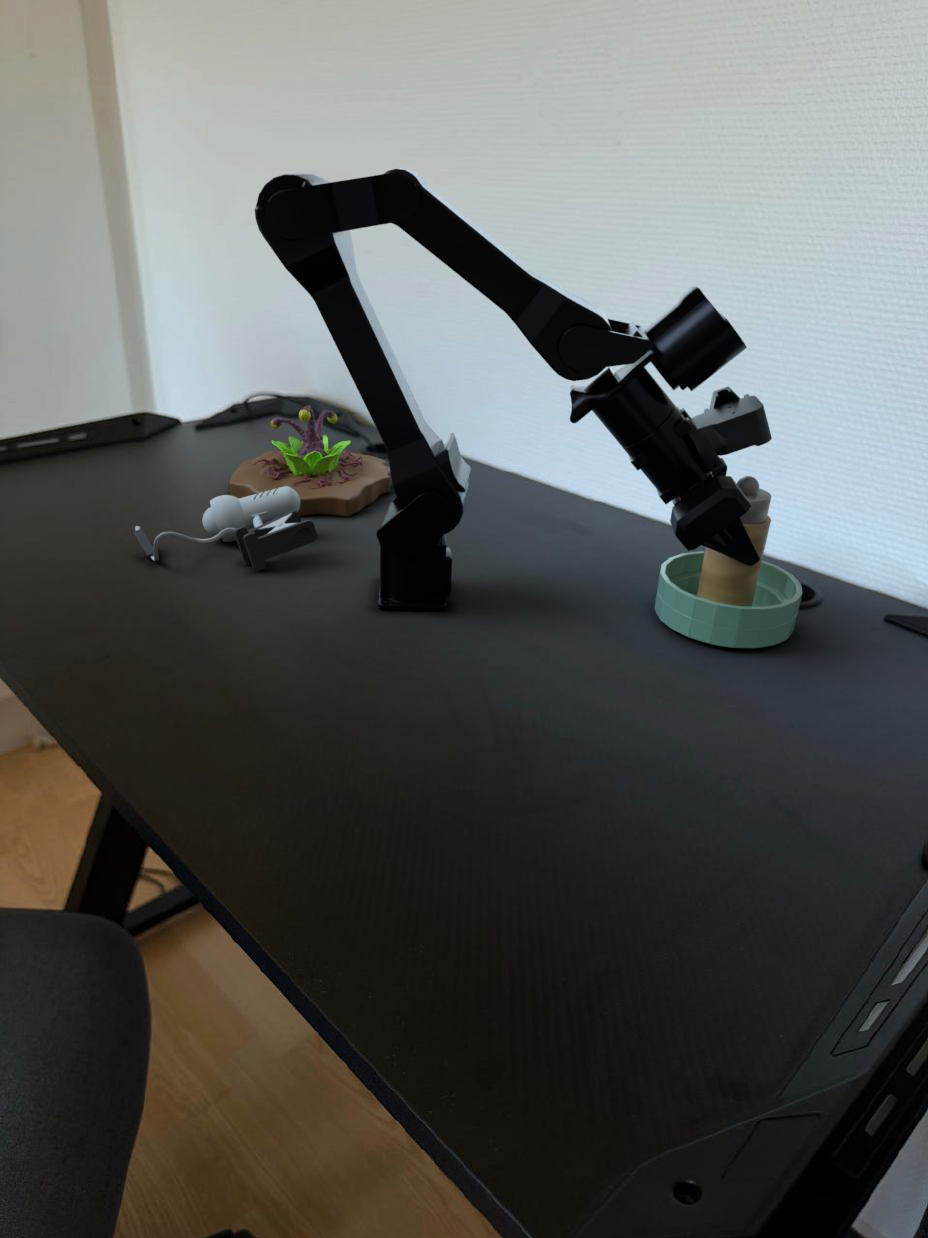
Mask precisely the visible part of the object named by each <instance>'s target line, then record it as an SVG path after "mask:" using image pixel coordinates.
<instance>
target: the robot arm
mask: <svg viewBox="0 0 928 1238" xmlns="http://www.w3.org/2000/svg"><path fill="white" fill-rule="evenodd" d="M254 217H255V218H254V219H255V223H256V225H257V228H258V231H259V232H260V234H261V235H262V237H263V239H264V240H265V242H266V243H267V245H268V246H269V247H270V249H271V250H272V251H273V253H274V254H275V255H276V257H277V258H278V260H279V262H280V263H281V264H282V266H283V267H284V269H285V270H286V271H287V272H288V273H289V274H290V275H291V277H292V278H294V280H296V281H297V282H298V283H299V285H300V286H301V287H302V288H303V289H304V290H305V291H306V292H307V293H308V295H309V296H310V297H311V298H312V300H313V301H314V303H315V305H316V307H317V309H318V311H319V314H320V315H321V317H322V320H323V321H324V324H325V326H326V328H327V329H328V332H329V334H330V336H331V338H332V340H333V343H334V344H335V346H336V348H337V350H338V352H339V354H340V356H341V359H342V361H343V362H344V364H345V367H346V368H347V371H348V373H349V375H350V377H351V379H352V381H353V383H354V385H355V387H356V389H357V390H358V394H359V395H360V398H361V399H362V401H363V403H364V405H365V408H366V409H367V411H368V414H369V416H370V417H371V420H372V421H373V424H374V426H375V428H376V430H377V432H378V435H379V436H380V438H381V441H382V442H383V444H384V446H385V450H386V454H387V457H388V458H387V459H388V465H389V466H388V467H389V468H390V472H391V477H392V487H393V491H394V494H395V497H394V498H393V499H392V500H391V501H390V502H389V504H388V506H387V509H386V511H385V513H384V516H383V518H382V519H381V521H380V524H379V525H378V528H377V530H376V533H375V535H376V538H377V541H378V544H379V547H380V548H379V555H380V556H379V590H378V602H377V603H378V608H379V609H381V610H411V611H412V610H415V611H417V610H418V611H420V610H421V611H444V610H446V609H447V598H449V597H451V595H452V577H453V576H452V572H453V553H452V549H451V548H450V547H447V544H448V543H447V534H449V533H450V532H452V531H453V530H455V528H456V527H457V526H458V525H459V524H460V522H461V521H462V517H463V515H464V511H465V506H466V503H467V498H468V494H469V489H470V488H469V487H470V485H469V484H470V481H469V479H470V475H471V471H472V467H471V466H470V465H469V464H468V463H467V462H466V461H465V460H464V458H463V457H462V454H461V451H460V449H459V444H458V440H457V438H456V435H455V433H454V432H450V433H449V434H447V435H446V436H444V437H442V438H441V437H440V436H439V435H438V434H437V433H436V432H435V431H434V430H433V429H432V428H431V427H430V426H429V424H428V422H427V421H426V420H425V417H424V415H423V413H422V411H421V408H420V406H419V405H418V402H417V399H416V398H415V396H414V393H413V391H412V389H411V387H410V385H409V383H408V381H407V379H406V376H405V374H404V371H403V370H402V368H401V366H400V364H399V361H398V359H397V357H396V354H395V353H394V350H393V349H392V346H391V344H390V342H389V340H388V338H387V336H386V333H385V330H384V329H383V327H382V324H381V322H380V320H379V318H378V317H377V314H376V312H375V310H374V307H373V305H372V303H371V301H370V299H369V297H368V294H367V293H366V290H365V288H364V285H363V284H362V282H361V280H360V277H359V273H358V269H357V262H356V258H355V251H354V245H353V240H352V235H351V232H350V231H353V230H359V229H363V228H364V229H365V228H369V227H375V226H376V227H377V226H380V225H387V224H393V225H395V226H397V227H398V228H400V229H401V230H402V231H403V232H404V233H406V235H408V236H410V237H411V238H412V239H413V240H415V241H416V242H417V243H418V244H419V245H421V246H422V247H423V248H425V249H426V250H427V251H428V252H429V253H431V254H432V255H433V256H434V257H436V258H437V259H438V260H439V261H441V262H442V263H443V264H444V265H445V266H447V267H448V268H449V269H450V270H452V271H454V273H456V274H457V275H458V276H459V277H460V278H462V279H463V280H464V281H465V282H466V283H468V284H469V285H470V286H472V287H473V288H474V289H476V290H477V291H478V292H479V293H481V294H482V295H483V296H484V297H485V298H487V299H488V300H489V301H491V302H492V303H493V304H494V305H496V307H498V308H499V309H501V310H502V311H503V312H504V313H505V314H506V315H507V316H508V317H509V319H510V320H511V321H512V322H513V323H514V324H515V326H516V327H517V328H518V330H519V331H520V332H521V333H522V335H523V336H524V338H525V339H526V340H527V342H528V343H529V344H530V346H532V348H533V349H534V350H535V351H536V353H538V354H539V356H540V357H541V358H542V359H543V360H544V361H545V363H546V364H547V365H548V366H549V367H550V368H551V369H552V370H553V372H554V373H556V375H558V376H559V377H562V378H563V379H565V380H568V381H571V382H577V381H578V382H579V381H585V380H590V379H591V378H594V379H592V380H591V381H590V382H589V383H588V384H586V385H582V386H579V385H571V386H569V388H568V390H569V396H570V403H569V408H568V415H569V421H570V422H571V423H572V424H578V422H580V421H581V420H582V419H583V418H585V417H586V416H587V415H588V414H589V413H591V411H592V412H593V414H594V415H595V416H596V417H597V419H598V420H599V421H600V422H601V423H602V424H603V426H604V427H605V429H607V431H608V432H609V433H610V434H611V436H612V437H613V438H614V439H615V440H616V441H617V443H618V444H619V445H620V446H621V448H622V449H623V450H624V451H625V452H626V454H627V455H628V458H629V461H630V463H631V465H632V466H633V467H634V468H635V470H636V471H641V472H642V473H643V474H644V475H645V477H646V478H647V479H648V480H649V482H650V483H651V484H652V485H653V487H654V488H655V489H656V491H657V494H658V497H659V499H660V500H661V501H662V502H663V503H664V504H665V505H667V504H669V503H670V502H672V504H673V506H672V508H671V514H670V520H669V521H670V525H671V528H672V532H673V533H674V536H675V538H676V539H677V540H678V541H679V542H680V543H681V544H682V546H683V547H684V548H685V549H686V551H687V552H692V551H695V550H697V549H698V548H700V547H701V546H702V547H705V548H706V547H707V548H710V549H712V550H714V551H717V552H719V553H722V554H724V555H726V556H728V557H730V558H733V559H735V560H737V561H739V562H741V563H744V564H746V565H748V566H753V565H754V564H756V563H757V562H758V561H759V560H760V557H759V555H758V553H757V551H756V549H755V547H754V545H753V543H752V541H751V539H750V537H749V535H748V533H747V531H746V529H745V527H744V525H743V523H742V521H741V519H740V517H741V516H742V515H744V514H745V513H747V512H748V510H749V509H750V507H751V504H750V502H749V501H748V499H747V497H746V496H745V494H744V493H743V491H742V490H741V488H740V487H739V486H738V485H737V482H736V481H735V480H734V478H733V477H732V476H731V475H727V473H728V464H727V463H726V462H725V460H724V458H723V456H727V455H729V454H733V453H735V452H738V451H739V452H740V451H742V450H744V449H747V448H750V447H753V446H756V447H761V446H763V445H766V444H767V443H769V442H770V441H771V440H772V438H773V437H772V433H771V430H770V426H769V425H770V424H769V422H768V421H769V420H768V418H767V414H766V410H765V406H764V403H763V402H762V401H761V400H760V399H759V398H758V397H757V396H756V395H750V394H749V393H747V394H744V395H743V397H742V398H741V397H740V396H739V395H738V394H737V393H736V392H735V391H734V390H733V389H731V387H730V386H725V387H722V388H719V389H716V390H714V391H713V392H712V395H711V399H710V404H709V408H704V409H703V412H702V413H700V414H697V415H695V416H692V417H691V415H689V413H688V412H687V411H686V409H685V408H684V407H682V408H681V409H680V407H679V406H676V404H675V403H674V402H673V400H671V398H670V396H669V395H668V394H667V393H666V392H665V390H664V389H663V388H662V386H660V384H659V383H658V382H657V380H656V379H655V378H654V377H653V376H652V374H651V373H650V372H649V371H648V369H647V367H646V366H647V365H649V364H650V363H651V364H652V365H653V367H654V368H655V369H656V371H657V372H658V373H659V375H660V376H661V377H662V378H663V380H664V381H665V383H667V385H668V386H669V387H670V388H671V390H672V391H676V390H677V389H678V388H680V390H681V391H685V390H686V389H687V388H688V389H689V390H690V392H693V391H695V390H696V389H697V388H698V387H699V386H701V385H702V384H704V383H705V382H706V381H707V380H708V379H710V377H712V376H713V375H715V374H716V373H717V372H718V371H720V370H721V369H722V368H723V367H725V366H726V365H727V364H728V363H730V362H731V361H732V360H734V359H735V358H737V356H739V355H740V354H741V353H743V352H744V351H745V350H746V349H747V345H746V343H745V342H744V340H743V339H742V338H741V336H740V335H739V333H738V332H737V331H736V329H735V328H734V326H733V325H732V324H731V322H730V321H729V320H728V319H727V318H726V317H725V316H724V315H723V314H722V313H721V312H719V311H718V310H717V309H716V307H715V306H714V305H713V304H712V302H711V300H709V299H708V298H707V297H706V295H705V294H704V292H703V291H702V290H701V288H700V287H698V286H697V285H691V286H689V288H688V289H687V290H685V291H684V292H683V293H682V294H681V295H680V296H679V297H678V299H677V300H676V302H674V304H672V305H671V306H670V307H669V308H668V309H667V310H665V311H664V312H663V313H661V314H660V315H659V316H658V317H657V318H656V319H655V320H653V321H652V322H651V323H650V324H649V325H647V327H645V328H644V326H643V325H641V324H636V323H635V322H633V321H631V322H627V321H622V320H617V319H615V318H610V317H609V318H608V317H607V315H606V314H605V312H604V311H603V309H601V308H600V307H599V306H598V305H596V304H595V303H593V302H591V301H589V300H587V299H586V298H584V297H582V296H580V295H579V294H577V293H575V292H573V291H572V290H569V289H567V288H565V287H564V286H562V285H560V284H557V283H555V282H553V281H551V280H549V279H547V278H545V277H543V276H541V275H540V274H538V273H536V272H534V271H532V270H531V269H530V268H529V267H527V266H526V265H525V264H524V263H522V262H521V261H520V260H519V259H518V258H516V257H515V256H514V255H513V254H512V253H510V252H509V251H508V250H507V249H506V248H504V247H503V246H502V245H501V244H499V242H497V241H496V240H494V239H493V238H492V237H491V236H489V235H488V234H487V233H486V232H485V231H483V229H482V228H480V227H479V226H478V225H476V223H474V222H473V221H471V220H470V219H469V218H468V217H466V215H464V214H463V213H462V212H461V211H459V209H457V208H456V207H454V206H453V205H452V204H451V203H449V202H448V201H447V200H446V199H445V198H443V197H442V196H441V194H439V193H438V192H436V191H435V190H434V189H432V188H431V187H430V186H429V185H428V184H427V183H426V181H425V180H424V178H423V177H422V176H421V175H420V173H417V172H416V171H414V170H412V169H409V168H393V169H389V170H386V171H385V172H384V173H382V174H376V175H369V176H363V177H357V178H351V179H345V180H338V181H331V182H329V180H326V179H325V178H323V177H320V176H318V175H316V174H313V173H287V174H282V175H281V174H280V175H278V176H274V177H273V178H272V179H270V180H269V181H268V182H266V183H265V184H264V185H263V187H262V189H261V191H260V192H259V194H258V197H257V200H256V206H255V208H254ZM618 366H621V367H620V368H619V369H617V370H616V371H615V370H614V369H613V368H612V367H618ZM720 456H722V457H720Z"/></svg>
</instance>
